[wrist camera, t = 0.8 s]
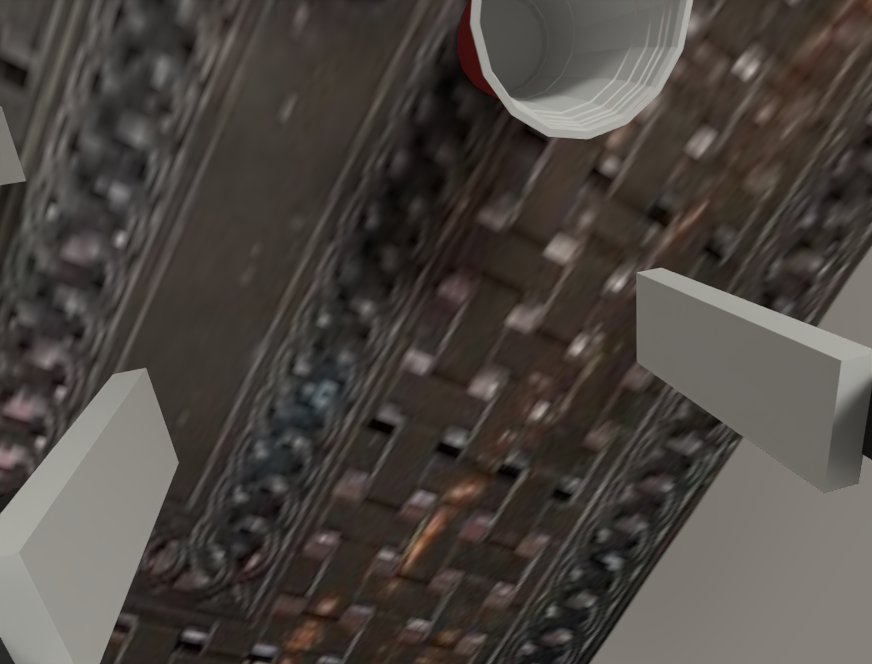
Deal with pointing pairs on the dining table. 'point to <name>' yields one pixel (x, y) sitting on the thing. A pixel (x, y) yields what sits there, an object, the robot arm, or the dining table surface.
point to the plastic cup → (572, 58)
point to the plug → (8, 156)
